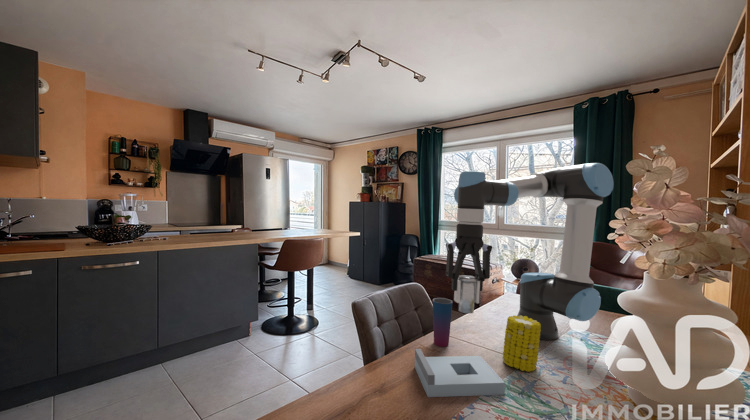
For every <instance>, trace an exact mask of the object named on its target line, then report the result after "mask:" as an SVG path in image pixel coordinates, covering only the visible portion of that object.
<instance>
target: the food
mask: <svg viewBox="0 0 750 420" xmlns="http://www.w3.org/2000/svg"><path fill="white" fill-rule="evenodd" d="M505 325H506V327H505V331H504V333H505V334H504V339H503V340H504V341H503V344H504V345H503V351H502V362H503V363H504V364H506V366H509V367H512V368H515V369H519V370H520V371H522V372H527V373H528V372H533V371H535V370H536V369H537V365H538V364H537V363H538V359H539V358H538V355H539V352H540V349H539V348H540V340H541V339H540V331H541V329H540V328H541V324H540V323H539V322H537V321H536V320H533V319H532V318H530V319H529V318H528V317H527V316H524V317H523V316H522V315H520V316H517V315H509V316H508V317H507V320H506V324H505Z"/></svg>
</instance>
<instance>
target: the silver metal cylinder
mask: <svg viewBox="0 0 750 420" xmlns="http://www.w3.org/2000/svg"><path fill="white" fill-rule="evenodd" d="M458 279H459V280H460V281H461V284H460V303H458V306H457V309H458V312H460V313H462V314H463V313H464V314H474V312H475V311H474V310H475V302H474V295H475V282H476V281H477V278H476V276H473V275H465V274H464V275H463V274H462V275H459V278H458Z"/></svg>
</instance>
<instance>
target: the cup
mask: <svg viewBox="0 0 750 420" xmlns="http://www.w3.org/2000/svg"><path fill="white" fill-rule="evenodd" d="M452 310H453V300H451V299H448V298H445V297H434V298H433V299H432V319H433V320H432V325H433V326H432V327H433V344H434V345H435V346H436V347H440V348H447V347H448V346H449V343H450V334H451V324H452V313H453V311H452Z"/></svg>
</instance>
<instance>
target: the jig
mask: <svg viewBox="0 0 750 420" xmlns="http://www.w3.org/2000/svg"><path fill="white" fill-rule="evenodd" d="M414 369H415V371H416V374H417V376H418V378H419V381H420V382H421V385H422V387H423V389H424V391H425V393H426V396H427V398H438V397H439V398H441V397H469V396H471V397H472V396H473V397H476V396H477V397H478V396H502V395H506V393H505V392H506V381H504V380H503V379H502V378H501V377H500V375H499V374H498V373H497V372H496V371H495V370H494V369H493V368H492V367H491V366H490V365H489V363H488V362H487V361H485V359H484V358H483V357H482V356H481V355H460V356H459V355H458V356H457V355H454V356H452V355H451V356H445V355H444V356H425V355H424V352H423V350H422V349H421V348H414Z"/></svg>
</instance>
